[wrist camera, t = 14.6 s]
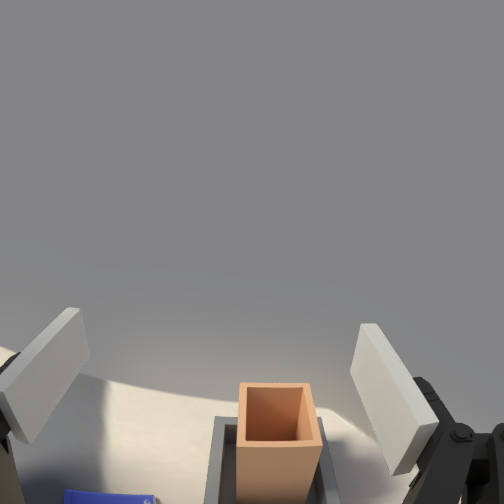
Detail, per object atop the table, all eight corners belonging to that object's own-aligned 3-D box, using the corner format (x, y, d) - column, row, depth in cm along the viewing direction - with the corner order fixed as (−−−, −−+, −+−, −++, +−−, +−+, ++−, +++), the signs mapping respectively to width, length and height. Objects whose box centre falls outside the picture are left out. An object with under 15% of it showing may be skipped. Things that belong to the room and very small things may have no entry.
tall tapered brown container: (236, 511, 30) (236, 446, 26) (239, 454, 39) (240, 382, 35) (302, 510, 30) (322, 445, 26) (295, 454, 39) (309, 383, 35)
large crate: (205, 533, 27) (202, 516, 25) (216, 440, 43) (215, 416, 41) (332, 531, 27) (342, 513, 25) (315, 440, 43) (320, 416, 42)
